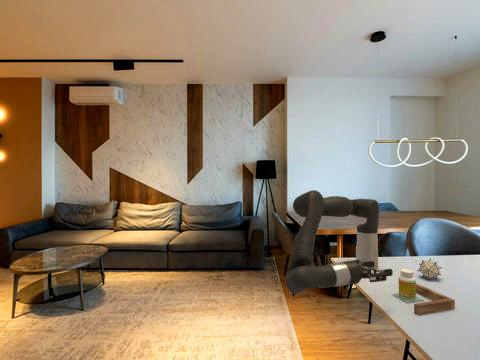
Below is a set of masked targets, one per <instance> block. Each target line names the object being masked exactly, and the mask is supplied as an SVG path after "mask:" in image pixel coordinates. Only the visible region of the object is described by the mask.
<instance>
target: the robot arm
mask: <svg viewBox="0 0 480 360" xmlns="http://www.w3.org/2000/svg"><path fill="white" fill-rule="evenodd" d="M292 208H293V211H294V212H295V213H296V215H298V216H299V217H302V218H305V219H304V221H303V224H301V226H300V229H299V230H298V232H297V233H296V235H295V238H294V242H293V246H292V247H293V248H292V253H291V260H290V262H289V265H288V268H287V271H286V275H285V285H286V288H287V289H288V291H289V292H290V293H292V294H295V295H297V294H298V295H299V294H301V293H303V292H305V291H306V290H308V289H311V288H312V289H313V288H319V289H324V288H325V289H326V288H327V289H328V288H333V287H343V286H349V285H355V284H356V285H357V284H359V283H360V282H361V280H362V279H369V282H370V283H378V282H386V281H387V280H388V279H387V278H388V277H391V276H393V273H394V271H393V269H392V268H386V269H379V249H378V247H379V241H378V240H379V239H378V238H379V237H378V229H379V221H380V220H379V218H380V206H379V202H378V200H376V199H371V198H355V199H350V198H348V197H346V196H339V195H333V196H332V195H331V196H326V197H324V196H323V195H322V194H321V192H319V191H318V190H315V189H313V190H309V191H307V192H304V193H303V194H300V195H298V196H297V197H296V198H295V199H294V200H293V202H292ZM348 216H349V217H350V216H353V217H354V216H355V217H359V218H365V219H366V221H365V222H364V223H361V224H358V225H357V226H356V245H355V260H348V261H347V260H346V261H339V262H334V263H330V264H324V265H318V266H317V265H311V264H312V262H313V258H314V257H313V256H314V250H315V242H316V241H315V240H316V237H317V233H318V229H319V226H320V223H321V220H322V217H333V218H346V217H348Z"/></svg>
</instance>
